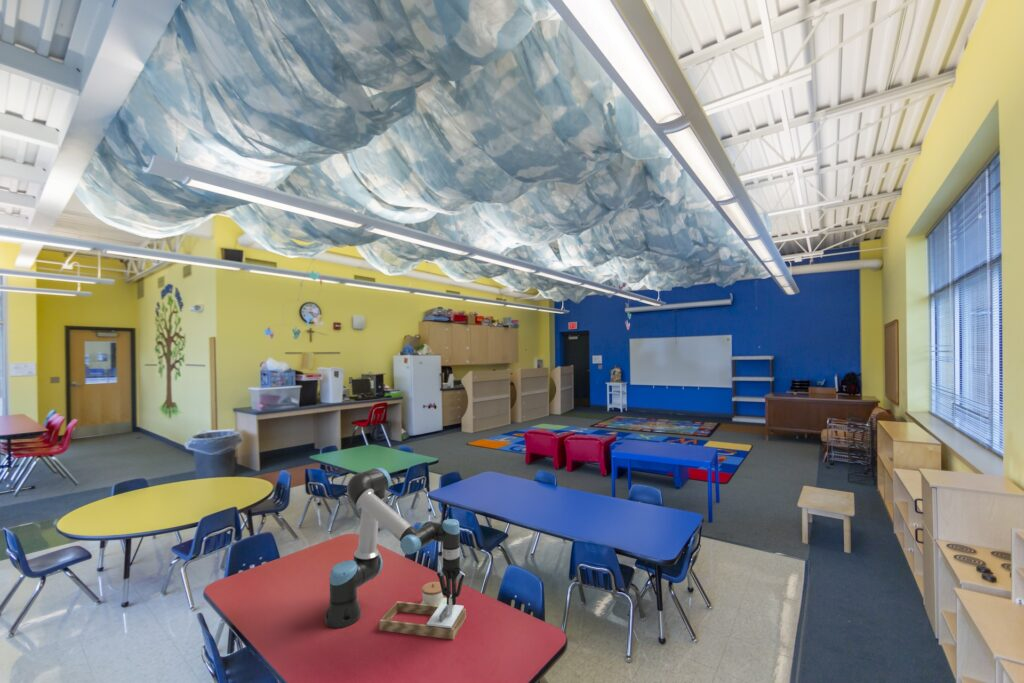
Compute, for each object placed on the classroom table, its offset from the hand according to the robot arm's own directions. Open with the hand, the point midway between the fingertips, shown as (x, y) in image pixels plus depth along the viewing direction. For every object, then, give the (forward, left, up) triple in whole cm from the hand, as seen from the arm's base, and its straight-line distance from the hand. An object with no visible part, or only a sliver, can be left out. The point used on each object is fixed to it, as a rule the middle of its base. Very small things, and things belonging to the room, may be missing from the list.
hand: (451, 611), depth 190 cm
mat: (-15, +15, -6) cm, 23 cm away
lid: (-3, 0, -2) cm, 3 cm away
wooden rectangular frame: (-13, 0, -6) cm, 15 cm away
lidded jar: (-15, +15, -6) cm, 22 cm away
